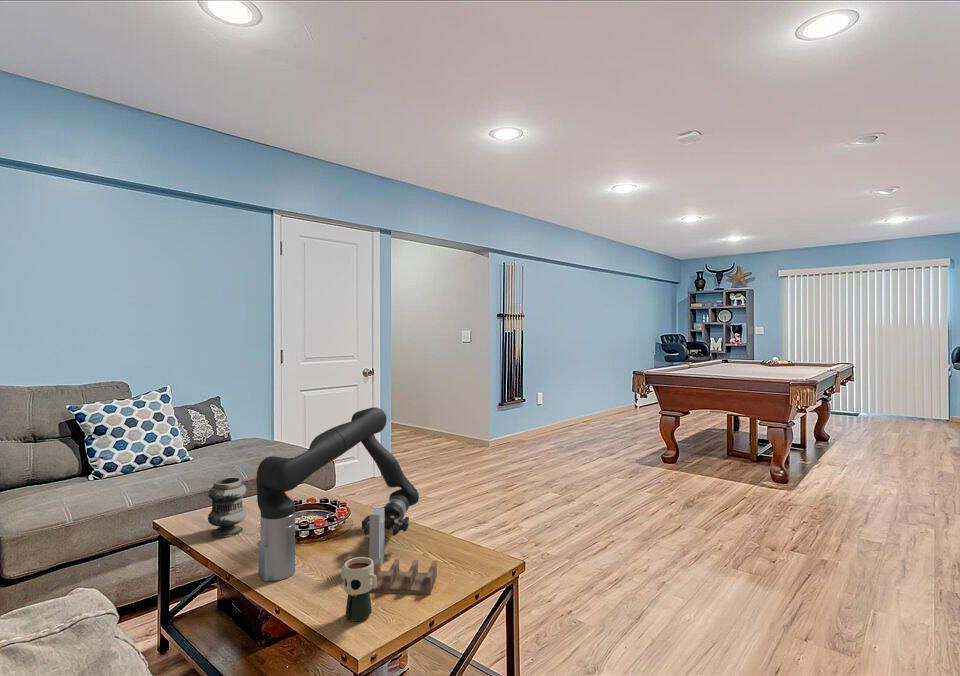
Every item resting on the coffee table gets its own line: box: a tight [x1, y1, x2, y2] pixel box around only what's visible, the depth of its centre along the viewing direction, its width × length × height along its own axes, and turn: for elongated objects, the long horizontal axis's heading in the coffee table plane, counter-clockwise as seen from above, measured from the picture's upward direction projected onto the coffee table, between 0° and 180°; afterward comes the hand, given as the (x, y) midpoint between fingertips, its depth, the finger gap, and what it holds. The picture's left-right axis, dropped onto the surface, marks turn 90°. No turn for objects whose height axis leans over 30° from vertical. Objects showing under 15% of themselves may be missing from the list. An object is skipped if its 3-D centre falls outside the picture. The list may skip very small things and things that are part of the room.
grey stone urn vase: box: [207, 476, 248, 538], centre depth 180 cm, size 12×12×18 cm
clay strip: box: [369, 507, 385, 566], centre depth 155 cm, size 6×3×16 cm, turn 175°
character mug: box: [340, 556, 377, 622], centre depth 127 cm, size 11×7×13 cm, turn 61°
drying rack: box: [369, 558, 438, 595], centre depth 144 cm, size 10×17×4 cm, turn 85°
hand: (379, 532), depth 158 cm, fingers open, 8 cm apart
